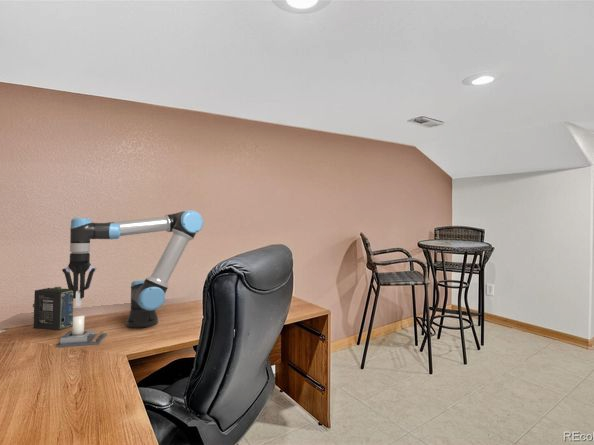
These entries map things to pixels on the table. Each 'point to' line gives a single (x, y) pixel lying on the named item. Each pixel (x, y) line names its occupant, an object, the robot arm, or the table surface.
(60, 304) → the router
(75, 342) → the jig
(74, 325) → the white rounded cylinder
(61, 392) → the table surface
